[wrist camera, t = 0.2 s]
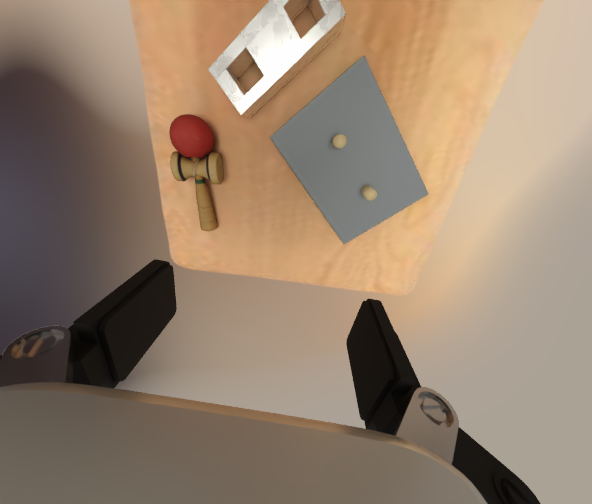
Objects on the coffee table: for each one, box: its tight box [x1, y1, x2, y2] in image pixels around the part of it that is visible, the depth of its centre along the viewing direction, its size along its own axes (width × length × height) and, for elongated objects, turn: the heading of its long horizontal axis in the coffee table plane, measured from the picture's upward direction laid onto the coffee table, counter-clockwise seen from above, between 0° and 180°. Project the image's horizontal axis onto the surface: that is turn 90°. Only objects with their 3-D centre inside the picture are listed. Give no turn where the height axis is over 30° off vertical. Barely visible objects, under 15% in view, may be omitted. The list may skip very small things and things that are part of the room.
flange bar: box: [208, 0, 346, 118], centre depth 28 cm, size 16×6×5 cm, turn 126°
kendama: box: [170, 114, 223, 231], centre depth 36 cm, size 8×6×18 cm
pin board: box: [270, 56, 428, 244], centre depth 34 cm, size 16×22×5 cm
